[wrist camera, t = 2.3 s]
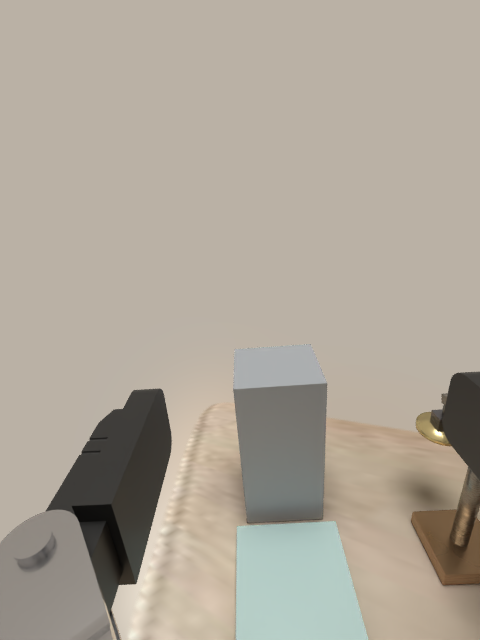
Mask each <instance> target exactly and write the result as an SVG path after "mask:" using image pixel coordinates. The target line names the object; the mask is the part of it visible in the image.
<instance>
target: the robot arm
mask: <svg viewBox="0 0 480 640" xmlns="http://www.w3.org/2000/svg"><path fill="white" fill-rule="evenodd" d="M442 423H443V430H444V433H445V436H446V438H447V440H448V441H449V443H450V444H451V445H452V447H453V448H454V449H455V450H456V452H457V453H458V454H459V455H460V457H461V458H462V459H463V460H464V461H465V463H466V464H467V465H468V466H469V468H470V469H471V470H472V471H473V473H474V474H475V475H476V476H477V477H478V479H479V480H480V372H465V373H456V374H454V375H453V377H452V379H451V381H450V386H449V391H448V396H447V400H446V405H445V410H444V414H443V420H442ZM170 453H171V430H170V424H169V419H168V414H167V409H166V403H165V398H164V394H163V391H162V390H161V389H145V390H134V391H133V392H132V393H131V395H130V397H129V398H128V400H127V402H126V404H125V406H124V408H123V409H116V410H113V411H112V412H111V413H110V414H109V415H107V416H106V417H105V418H104V419H103V420H102V421H100V422H99V424H98V425H97V427H96V429H95V430H94V432H93V433H92V435H91V437H90V441H88V442H87V443H86V445H85V447H84V448H83V450H82V454H81V455H79V457H78V458H77V460H76V462H75V463H74V465H73V467H72V468H71V470H70V472H69V473H68V475H67V477H66V478H65V480H64V482H63V483H62V485H61V487H60V489H59V490H58V492H57V494H56V495H55V497H54V498H53V500H52V502H51V504H50V505H49V507H48V508H47V510H46V512H43V513H40V514H38V515H35V516H33V517H31V518H30V519H28V520H26V521H24V522H23V523H22V524H20V525H19V526H17V527H16V528H15V529H14V530H12V531H11V532H10V533H9V534H8V535H7V536H6V537H5V538H4V539H3V540H2V541H1V543H0V640H122V639H121V637H120V633H119V630H118V627H117V624H116V621H115V618H114V614H113V611H112V609H111V608H112V605H113V602H114V598H115V595H116V592H117V589H118V585H127V584H136V583H137V579H138V575H139V572H140V568H141V564H142V560H143V556H144V552H145V549H146V545H147V541H148V537H149V534H150V530H151V526H152V522H153V518H154V515H155V511H156V507H157V503H158V499H159V496H160V492H161V488H162V484H163V480H164V477H165V473H166V469H167V465H168V461H169V458H170Z"/></svg>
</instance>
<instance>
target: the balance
mask: <svg viewBox="0 0 480 640" xmlns="http://www.w3.org/2000/svg"><path fill="white" fill-rule="evenodd" d="M447 396H448V394H442V403H443V404H444V406H443V410H432V412H425V413H422V414H420V415H419V416H418V417H417V419H416V428H417V430H418V431H419V433H420V434H421V435H422V436H424V437H425V438H426V439H428V440H430V441H432V442H434V443H437V444H440V445H445V446H452V445H451V444H450V443H449V441H448V440H447V438H446V436H445V433H444V430H443V423H442V420H443V414H444V410H445V405H446V400H447ZM479 508H480V480H479V479H478V477H477V476H476V475H475V474H474V473H473V471H472V470H471V469H470V468H469V467H468V470H467V474H466V478H465V481H464V485H463V489H462V492H461V496H460V500H459V504H458V507H457V510H439V511H419V512H413V513H412V518H411V522H412V524H413V526H414V528H415V530H416V532H417V534H418V536H419V538H420V540H421V542H422V544H423V546H424V548H425V550H426V552H427V554H428V556H429V558H430V560H431V562H432V564H433V566H434V568H435V570H436V572H437V574H438V576H439V578H440V580H441V582H442V584H443V585H455V584H478V583H480V522H479V520H478V519H477V514H478V511H479Z"/></svg>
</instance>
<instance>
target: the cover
mask: <svg viewBox="0 0 480 640" xmlns="http://www.w3.org/2000/svg"><path fill="white" fill-rule="evenodd" d="M233 391H234V400H235V410H236V419H237V429H238V439H239V448H240V458H241V467H242V477H243V486H244V496H245V506H246V515H247V523H257V522H277V521H296V520H316V519H323V497H324V466H325V435H326V404H327V382H326V379H325V377H324V375H323V372H322V370H321V368H320V365H319V363H318V361H317V358H316V356H315V354H314V351H313V349H312V347H311V344H306V345H292V346H279V347H263V348H248V349H235V357H234V387H233Z"/></svg>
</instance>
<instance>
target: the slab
mask: <svg viewBox="0 0 480 640" xmlns="http://www.w3.org/2000/svg"><path fill="white" fill-rule="evenodd" d="M236 640H368V636H367V633H366V629H365V626H364V622H363V618H362V615H361V611H360V608H359V604H358V600H357V597H356V593H355V590H354V586H353V582H352V579H351V575H350V572H349V568H348V565H347V561H346V557H345V554H344V550H343V547H342V543H341V539H340V536H339V532H338V529H337V525H336V521H328V522H309V523H289V524H269V525H250V526H237V572H236Z"/></svg>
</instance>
